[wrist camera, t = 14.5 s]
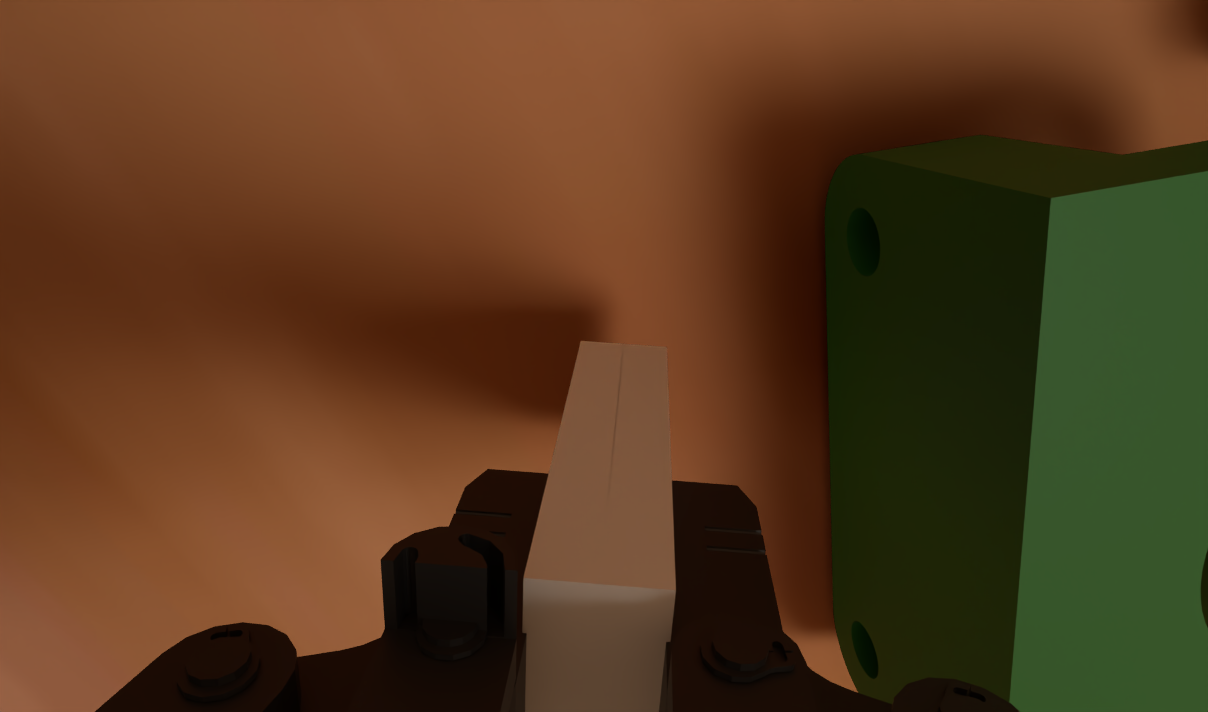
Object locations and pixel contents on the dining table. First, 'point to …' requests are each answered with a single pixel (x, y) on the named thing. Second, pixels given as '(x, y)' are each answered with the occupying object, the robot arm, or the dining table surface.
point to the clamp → (1021, 422)
